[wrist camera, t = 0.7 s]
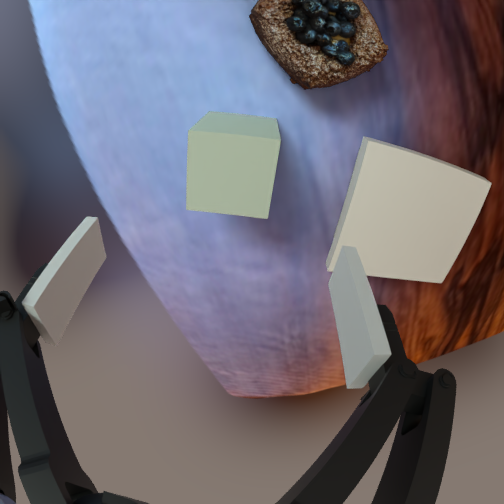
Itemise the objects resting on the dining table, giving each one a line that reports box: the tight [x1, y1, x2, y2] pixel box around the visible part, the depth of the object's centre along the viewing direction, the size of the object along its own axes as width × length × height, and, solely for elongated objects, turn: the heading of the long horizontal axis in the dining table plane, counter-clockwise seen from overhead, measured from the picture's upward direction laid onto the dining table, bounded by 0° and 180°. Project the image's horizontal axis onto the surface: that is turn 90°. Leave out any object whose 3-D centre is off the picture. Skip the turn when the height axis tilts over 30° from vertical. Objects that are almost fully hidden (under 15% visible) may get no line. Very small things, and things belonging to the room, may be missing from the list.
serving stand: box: [326, 136, 492, 283], centre depth 31 cm, size 16×18×4 cm
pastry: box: [249, 0, 389, 90], centre depth 19 cm, size 11×12×6 cm
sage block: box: [186, 111, 281, 219], centre depth 26 cm, size 7×7×9 cm
